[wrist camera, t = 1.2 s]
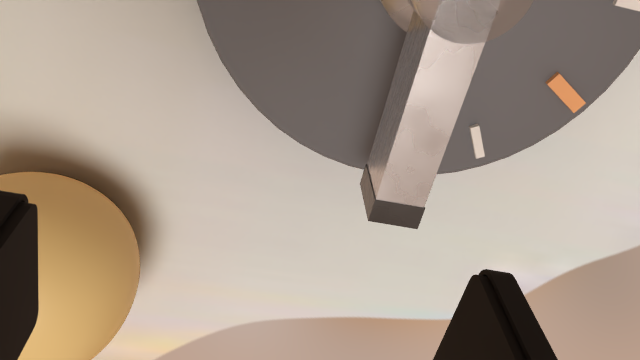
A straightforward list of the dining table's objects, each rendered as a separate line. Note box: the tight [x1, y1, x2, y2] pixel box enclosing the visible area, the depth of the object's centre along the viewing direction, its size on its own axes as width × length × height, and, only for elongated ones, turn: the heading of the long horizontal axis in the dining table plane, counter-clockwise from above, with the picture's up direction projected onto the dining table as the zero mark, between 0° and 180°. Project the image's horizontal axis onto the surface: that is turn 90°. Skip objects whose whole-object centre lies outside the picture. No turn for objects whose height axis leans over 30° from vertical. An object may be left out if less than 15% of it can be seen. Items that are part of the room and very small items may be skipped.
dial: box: [360, 0, 533, 229], centre depth 27 cm, size 15×7×6 cm, turn 167°
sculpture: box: [0, 172, 140, 360], centre depth 32 cm, size 12×12×11 cm
